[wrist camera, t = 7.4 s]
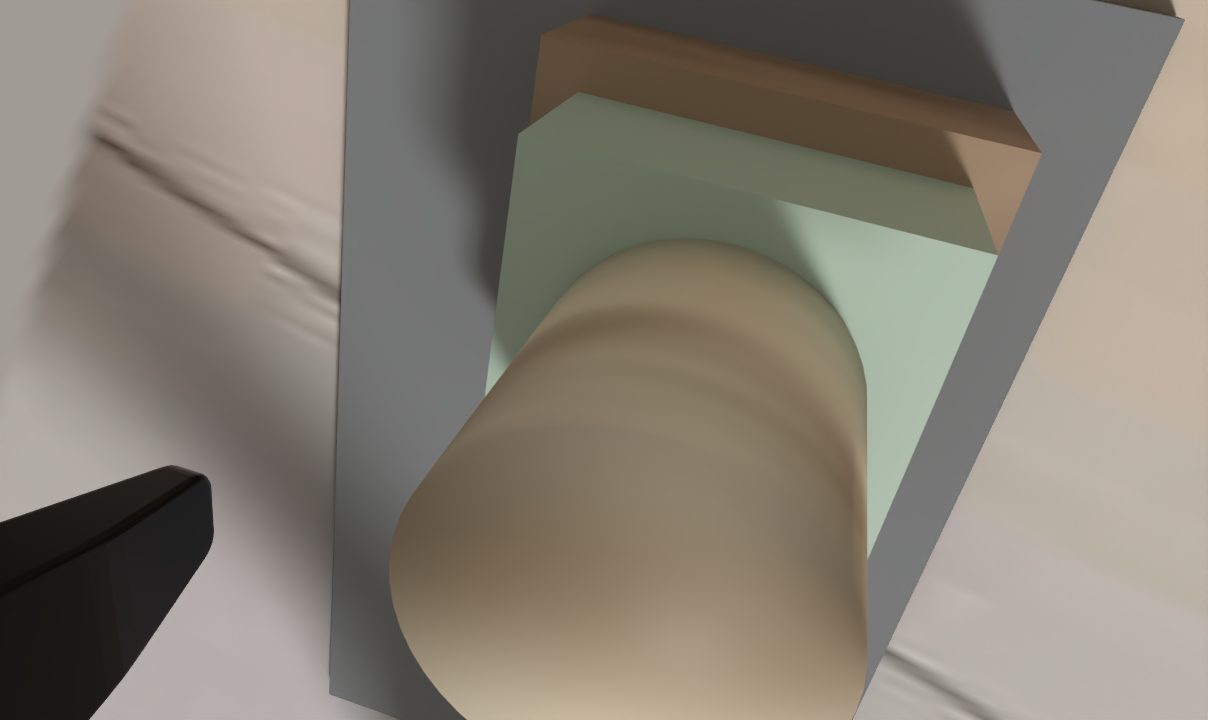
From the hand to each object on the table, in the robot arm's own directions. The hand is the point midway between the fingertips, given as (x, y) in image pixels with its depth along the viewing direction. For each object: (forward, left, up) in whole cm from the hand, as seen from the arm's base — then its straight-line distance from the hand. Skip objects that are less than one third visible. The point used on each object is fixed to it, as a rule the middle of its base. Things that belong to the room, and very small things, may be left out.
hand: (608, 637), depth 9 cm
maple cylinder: (0, 0, -5) cm, 5 cm away
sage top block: (0, 0, -8) cm, 8 cm away
